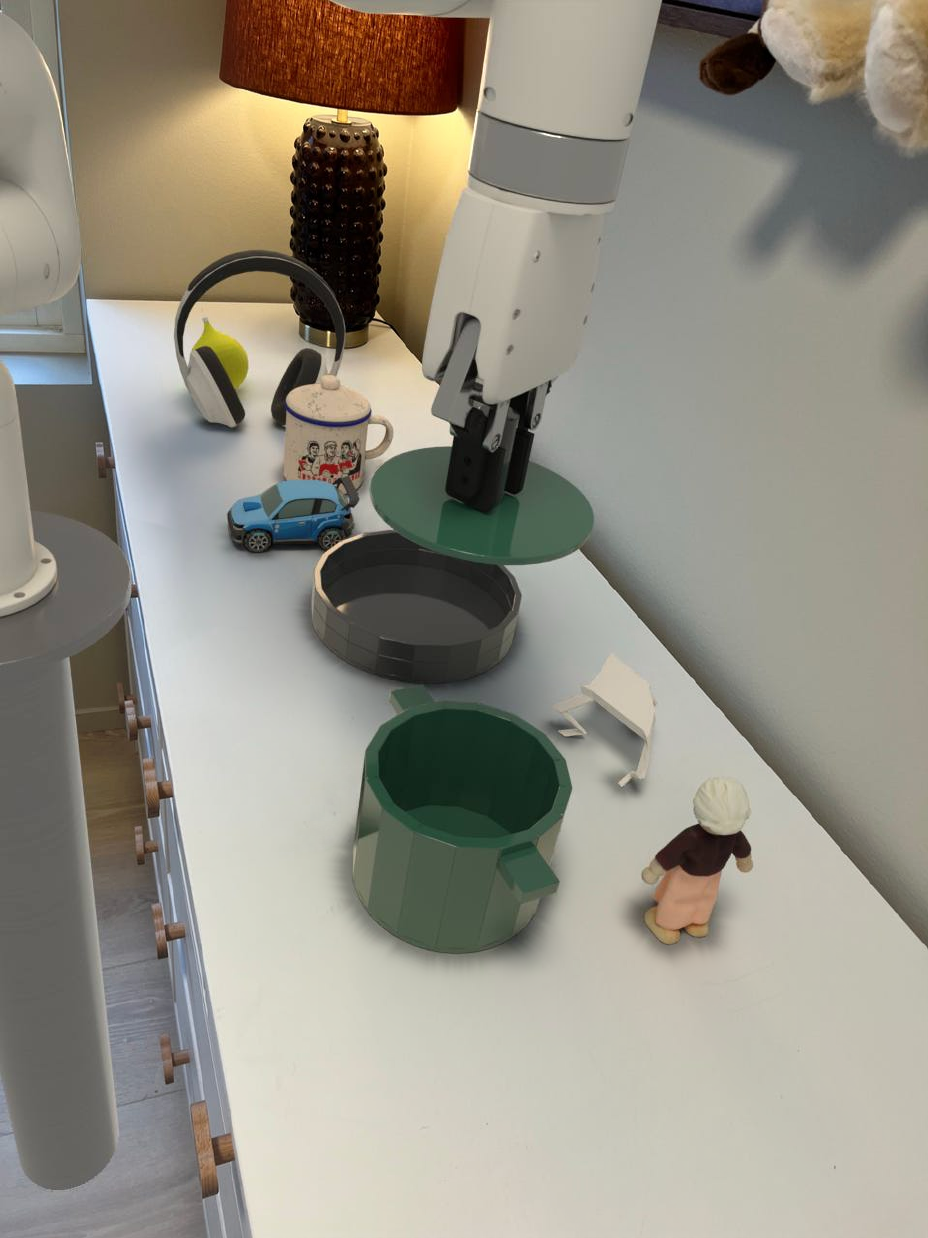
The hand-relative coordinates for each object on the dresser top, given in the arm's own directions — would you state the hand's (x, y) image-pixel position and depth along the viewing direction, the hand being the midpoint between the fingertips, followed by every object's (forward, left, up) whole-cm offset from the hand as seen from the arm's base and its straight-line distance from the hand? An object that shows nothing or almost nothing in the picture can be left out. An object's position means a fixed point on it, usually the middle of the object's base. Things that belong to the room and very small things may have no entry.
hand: (484, 491), depth 58 cm
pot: (-3, -8, -24) cm, 25 cm away
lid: (0, 0, -1) cm, 1 cm away
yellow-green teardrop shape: (+4, +71, -24) cm, 75 cm away
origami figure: (+15, -1, -24) cm, 28 cm away
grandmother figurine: (+9, -17, -24) cm, 31 cm away
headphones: (+6, +61, -24) cm, 65 cm away
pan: (+7, +19, -24) cm, 31 cm away
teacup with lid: (+10, +46, -24) cm, 53 cm away
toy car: (+1, +35, -24) cm, 42 cm away
